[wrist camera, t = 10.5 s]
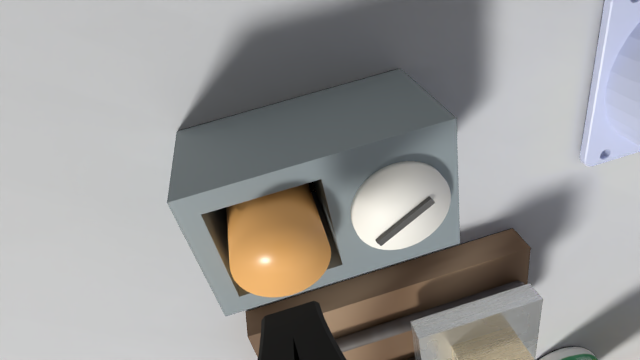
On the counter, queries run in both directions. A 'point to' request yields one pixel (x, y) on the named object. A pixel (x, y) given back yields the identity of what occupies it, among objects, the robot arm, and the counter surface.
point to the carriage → (482, 329)
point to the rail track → (408, 295)
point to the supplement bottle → (570, 354)
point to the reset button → (277, 243)
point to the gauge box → (325, 177)
